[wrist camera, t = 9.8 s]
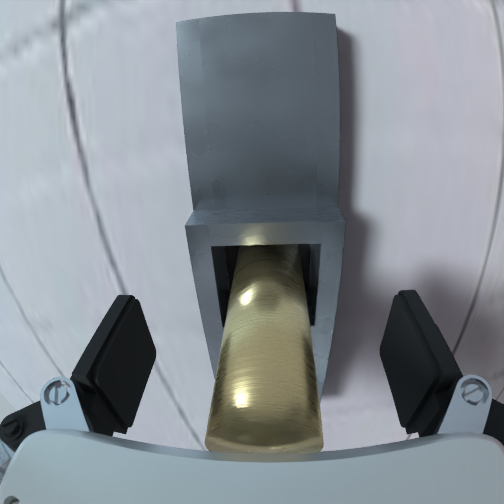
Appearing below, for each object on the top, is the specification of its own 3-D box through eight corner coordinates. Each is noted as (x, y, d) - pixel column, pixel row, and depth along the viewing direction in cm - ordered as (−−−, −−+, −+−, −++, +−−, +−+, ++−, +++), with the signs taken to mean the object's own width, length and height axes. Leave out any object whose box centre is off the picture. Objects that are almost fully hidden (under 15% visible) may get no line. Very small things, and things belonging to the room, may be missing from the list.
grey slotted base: (328, 22, 10) (343, 4, 7) (312, 386, 20) (316, 421, 18) (185, 29, 10) (163, 13, 8) (229, 387, 21) (225, 421, 18)
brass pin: (299, 226, 15) (331, 419, 6) (298, 279, 16) (316, 465, 7) (236, 227, 15) (194, 419, 6) (240, 280, 16) (214, 465, 7)
